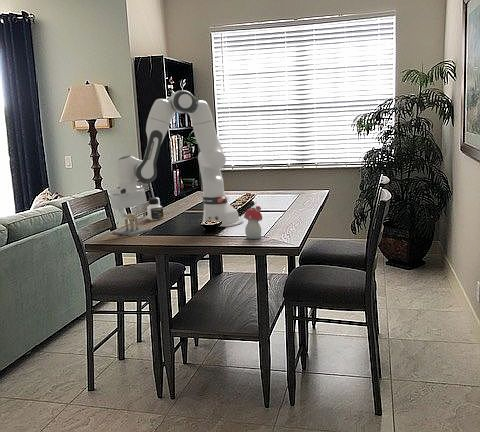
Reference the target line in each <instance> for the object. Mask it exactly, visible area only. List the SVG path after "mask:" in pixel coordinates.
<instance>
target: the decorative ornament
mask: <svg viewBox="0 0 480 432" xmlns="http://www.w3.org/2000/svg"><path fill="white" fill-rule="evenodd" d="M261 210H262V208H261V206H260V205H256V206H255V207H250V208H248V209H246V211H245V212H244V216H243V218H244V219H246V220H247V224H246V226H245V231H244V232H245V236H246V238H247V239H249V240H258V239H261V238H262V227H261V224H260V221H262V220H263V216H262V213H261Z"/></svg>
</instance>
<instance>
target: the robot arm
mask: <svg viewBox="0 0 480 432" xmlns="http://www.w3.org/2000/svg"><path fill="white" fill-rule="evenodd" d="M185 113H186V114H188V116H189V119H190V121H191V124H192V126H191V127H192V129H193V134H194V137H195V138H194V139H195V141H196V143H197V145H198V148H199V150H200V152H199V153H198V155H197V160H198V161H197V162H198V166H199V172H200V176H201V181H202V194H203V196H202V203H203V214H202V215H203V217H202V224H203V222H205V221H207V220H216V221H222V224H221V225H220V226H219V227H224V228H225V227H226V228H227V227H232V226H233V227H234V226H238V225H241V224H243V223H244V222H245V221H244V219H240V218H239V212H238V210H237V209H236V208H234V207H233V206H232V205H231V204H230V203H229V196H227V197H226V195H225V186H224V185H225V184H224V182H225V181H224V178H223V174H222V170H221V169H223V167H225V166H226V165H225V164H226V162H227V161H226V160H227V159H226V155H225V154H224V151H223V148H222V144H221V143H220V142H221V141H220V139H219V136H218V134H217V131H216V126H215V121H214V119H213V118H214V117H213V114H212V111H211V108H210V106H209V103H208V102H206V101H205V100H201V99H200V100H198V99H197V98H196V97H195V96H194V95H193V94H192V93H191V92H190V91H188V90H183V89H181V90H177V91H175V92H174V93H172V94H171V95H170V96H169V97H168V98H167V99H166V98H157V99H155V101H154V102H153V104H152V106H151V108H150V111H149V114H148V117H147V120H146V126H145V133H146V137H147V146H146V149H145V151H144V152H145V153H144V156H143V159H139V158H137V157H134V156H133V155H125V156H122V157H119V159H118V160H117V163H116V165H117V166H116V167H117V168H116V169H117V171H116V172H117V176H118V185H117V186H115V187H114V188H111V190H110V194H111V197H110V203H111V205H110V206H111V209H112V210H114V211H116V210H117V211H118V212H119V214H120V216H121V218H125V217H126V213H125V212H124V209H127V208H132V207H136V210H135V214H136V215H140V214H141V208H142V205H145V204H146V203H147V200H148V199H147V195H146V192H145V191H146V190H145V188H144V187H143V185H139V186H138V184H137V183H138V182H137V180H138V181H139V182H140V183H142V184H150V183H152V182H154V181H155V180H156V178H157V176H158V168H157V161H158V158H159V154H160V151H161V150H160V148H161V145H162V143H163V141H164V139H165V137H166V135H167V132H168V130H169V127H170V124H171V121H172V117H173V116H174V114H185Z"/></svg>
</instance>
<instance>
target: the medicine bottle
mask: <svg viewBox="0 0 480 432" xmlns="http://www.w3.org/2000/svg"><path fill="white" fill-rule="evenodd" d="M148 205H149V206H146V210H147V219H148V220H150V221H157V220H158V219H159V220H163V219H164V208H163V206H162V205H161V201H160V198H159V197H150V198H148Z"/></svg>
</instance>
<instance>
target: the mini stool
mask: <svg viewBox="0 0 480 432" xmlns="http://www.w3.org/2000/svg"><path fill="white" fill-rule="evenodd" d="M125 214H126V213H125ZM138 220H139V219H138V217H137V214H136V213H127V214H126V217H124V223H125V228H126V231H128V228H129V227H130V229H131V231H133V229H134V226H136V230H139V229H138V227H139V223H138V222H139V221H138ZM128 221H129V223H128ZM134 221H135V223H134Z"/></svg>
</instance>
